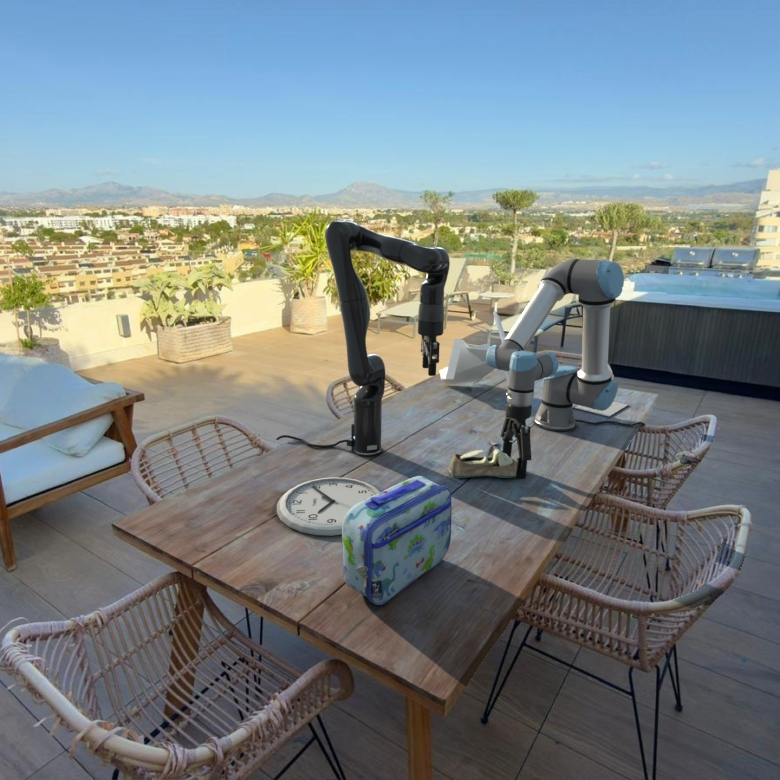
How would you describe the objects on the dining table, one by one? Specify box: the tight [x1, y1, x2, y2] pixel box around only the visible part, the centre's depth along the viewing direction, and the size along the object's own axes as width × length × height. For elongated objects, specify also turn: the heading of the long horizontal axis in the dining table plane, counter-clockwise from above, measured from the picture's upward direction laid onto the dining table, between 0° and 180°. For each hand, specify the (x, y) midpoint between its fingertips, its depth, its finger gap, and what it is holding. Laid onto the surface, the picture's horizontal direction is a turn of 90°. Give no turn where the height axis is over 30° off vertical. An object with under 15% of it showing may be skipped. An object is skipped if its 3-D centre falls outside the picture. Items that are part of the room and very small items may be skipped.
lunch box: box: [341, 475, 453, 606], centre depth 111 cm, size 26×11×21 cm, turn 134°
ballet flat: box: [448, 448, 528, 479], centre depth 161 cm, size 8×25×8 cm, turn 98°
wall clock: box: [276, 476, 382, 537], centre depth 142 cm, size 30×2×30 cm
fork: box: [487, 436, 500, 457], centre depth 181 cm, size 3×16×2 cm, turn 160°
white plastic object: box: [438, 310, 509, 386], centre depth 245 cm, size 37×45×31 cm
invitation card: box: [573, 400, 629, 418], centre depth 226 cm, size 21×1×15 cm
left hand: (428, 371), depth 158 cm, fingers open, 8 cm apart
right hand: (513, 469), depth 162 cm, fingers open, 12 cm apart
